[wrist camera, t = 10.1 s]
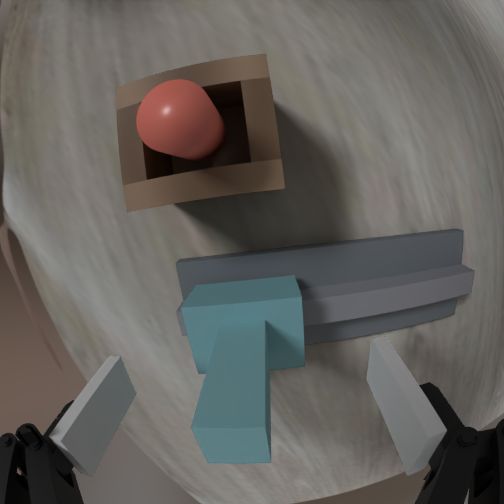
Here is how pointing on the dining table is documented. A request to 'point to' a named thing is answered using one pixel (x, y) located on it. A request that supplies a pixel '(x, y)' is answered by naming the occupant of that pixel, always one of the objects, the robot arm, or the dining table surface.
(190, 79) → the open wooden box
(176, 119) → the cylinder
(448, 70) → the dining table surface
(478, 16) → the dining table surface
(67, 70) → the dining table surface
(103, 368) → the robot arm
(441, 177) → the dining table surface
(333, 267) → the rail bed
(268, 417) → the carriage
